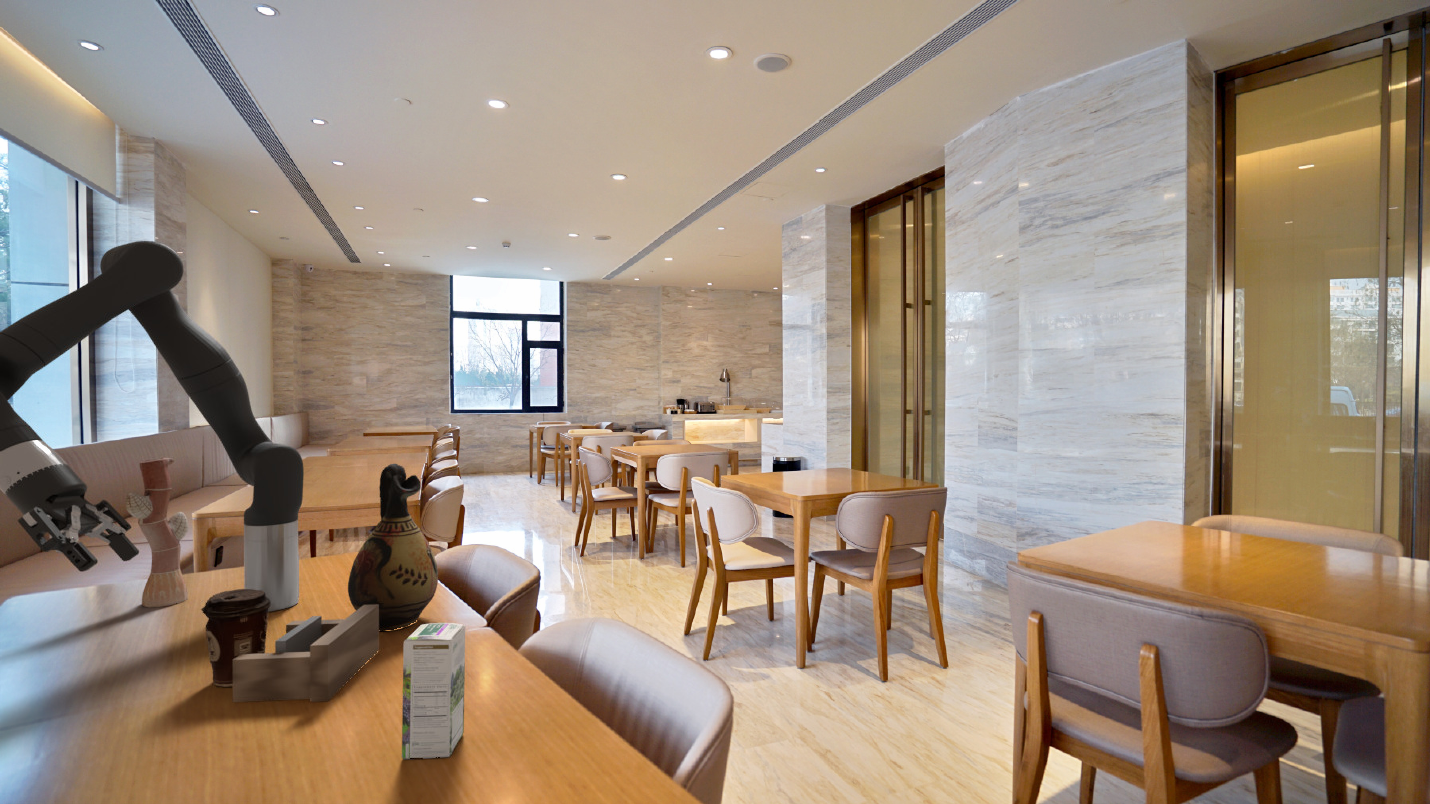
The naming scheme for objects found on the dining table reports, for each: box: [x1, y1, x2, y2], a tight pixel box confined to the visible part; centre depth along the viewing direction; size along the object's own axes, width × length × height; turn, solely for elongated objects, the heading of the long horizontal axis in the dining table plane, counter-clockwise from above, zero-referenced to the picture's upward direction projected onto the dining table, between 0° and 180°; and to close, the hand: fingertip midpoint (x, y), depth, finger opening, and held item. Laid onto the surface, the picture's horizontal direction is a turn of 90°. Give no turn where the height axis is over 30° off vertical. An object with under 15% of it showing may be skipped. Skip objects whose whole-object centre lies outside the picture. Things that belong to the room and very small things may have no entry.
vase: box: [125, 457, 189, 608], centre depth 136 cm, size 11×7×30 cm
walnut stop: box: [232, 604, 380, 703], centre depth 102 cm, size 13×18×8 cm
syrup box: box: [401, 622, 466, 760], centre depth 82 cm, size 6×6×14 cm
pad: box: [274, 615, 323, 653], centre depth 102 cm, size 1×11×7 cm, turn 6°
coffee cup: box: [200, 588, 271, 688], centre depth 101 cm, size 9×8×13 cm
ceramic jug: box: [347, 463, 439, 630], centre depth 126 cm, size 17×15×30 cm
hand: (112, 562), depth 98 cm, fingers open, 8 cm apart
